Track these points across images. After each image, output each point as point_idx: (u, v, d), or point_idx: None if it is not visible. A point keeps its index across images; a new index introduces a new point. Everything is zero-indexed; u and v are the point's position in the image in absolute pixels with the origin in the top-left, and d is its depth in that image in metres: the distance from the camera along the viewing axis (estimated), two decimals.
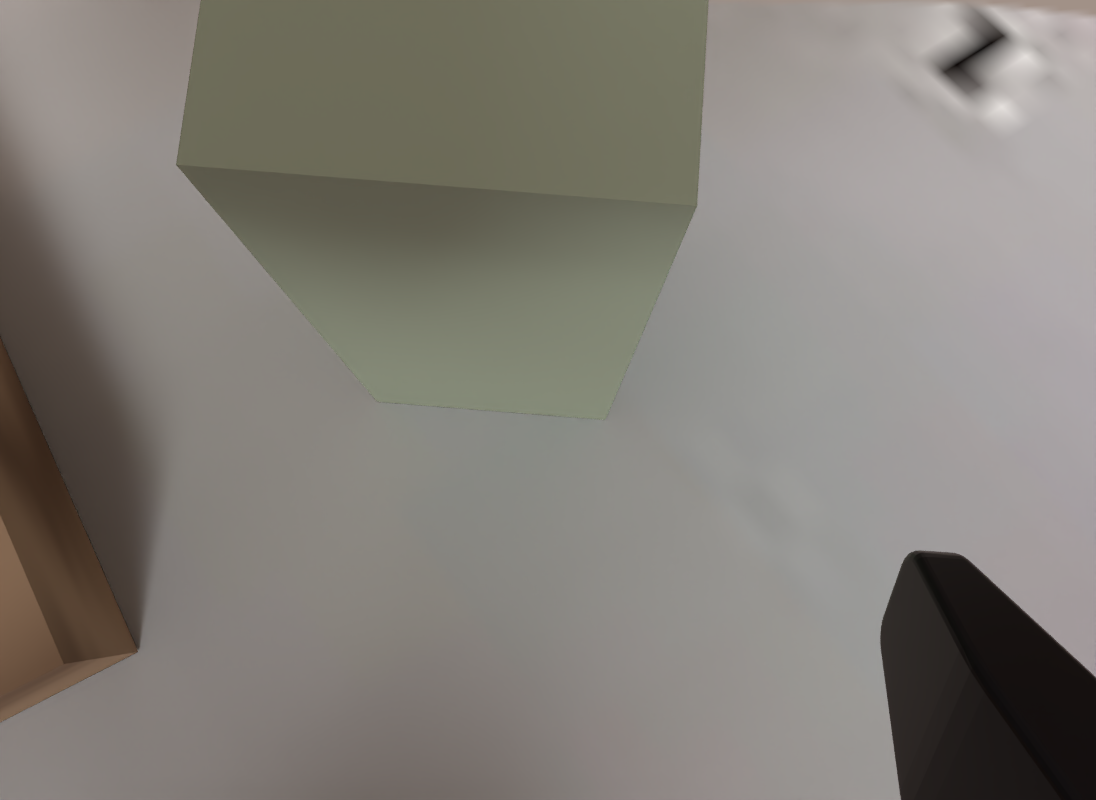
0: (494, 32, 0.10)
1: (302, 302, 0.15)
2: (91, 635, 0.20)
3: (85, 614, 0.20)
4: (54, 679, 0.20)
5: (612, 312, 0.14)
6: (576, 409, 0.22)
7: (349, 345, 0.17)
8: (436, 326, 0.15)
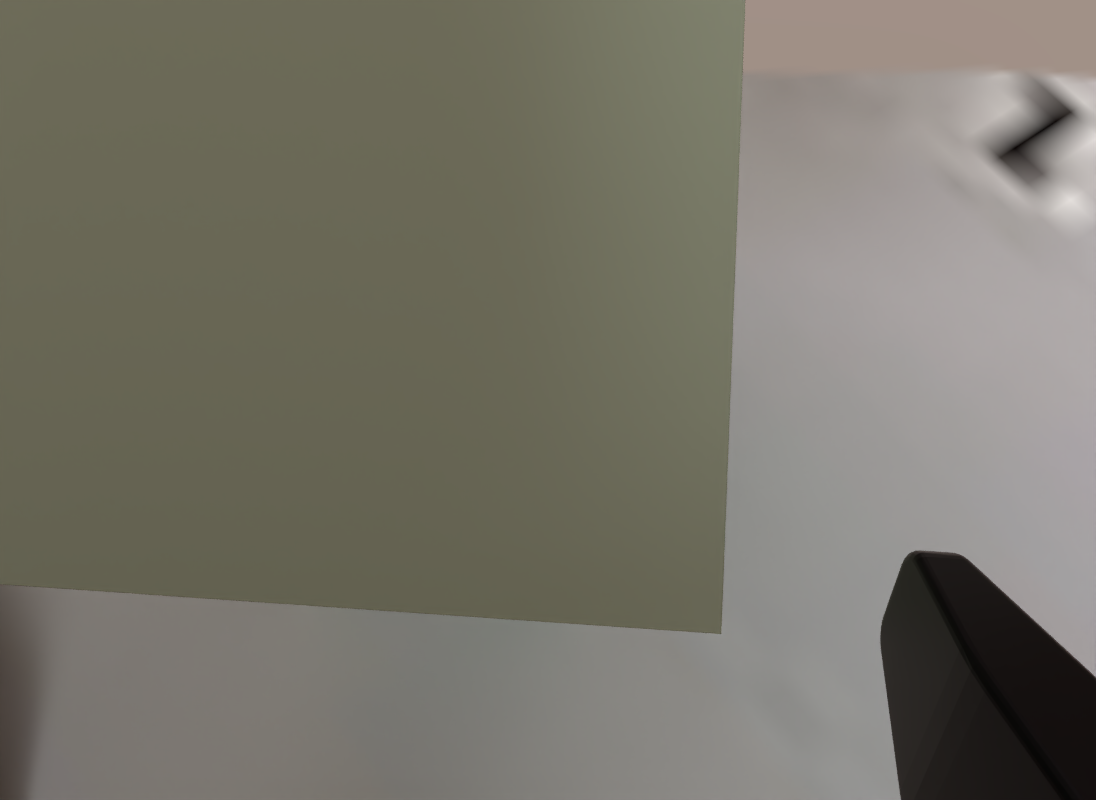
0: (369, 317, 0.06)
1: None
2: None
3: None
4: None
5: None
6: None
7: None
8: None
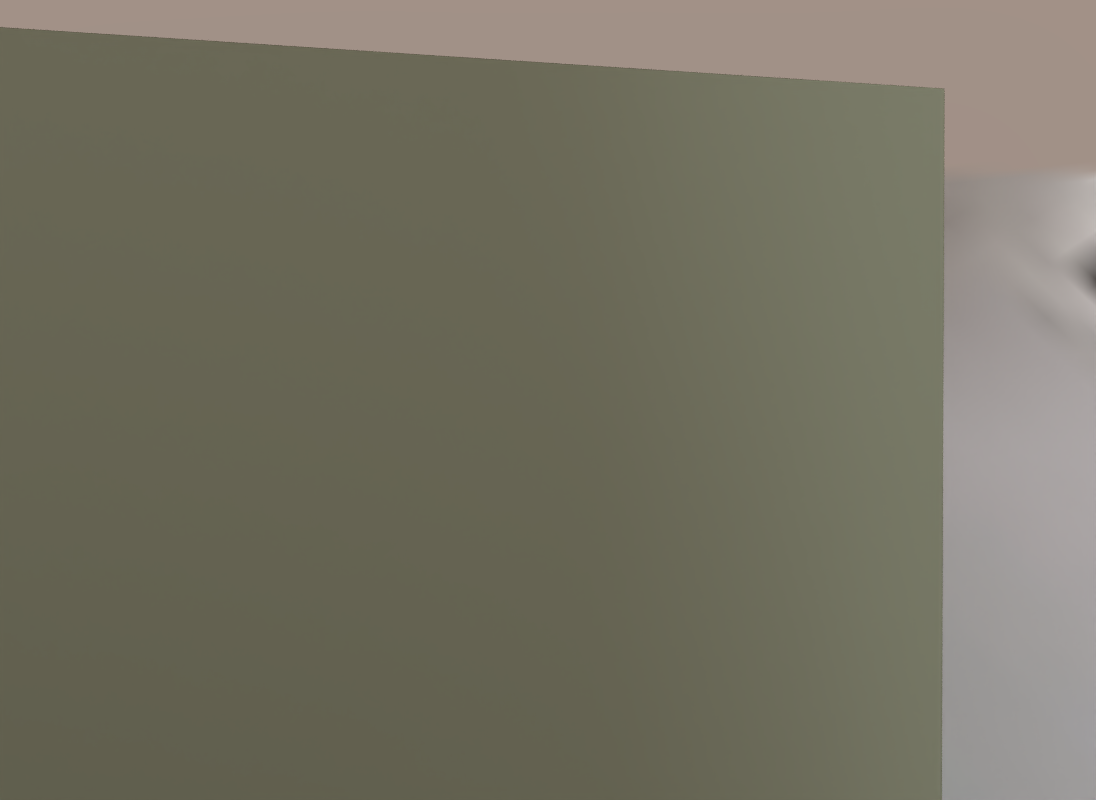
0: None
1: None
2: None
3: None
4: None
5: None
6: None
7: None
8: None
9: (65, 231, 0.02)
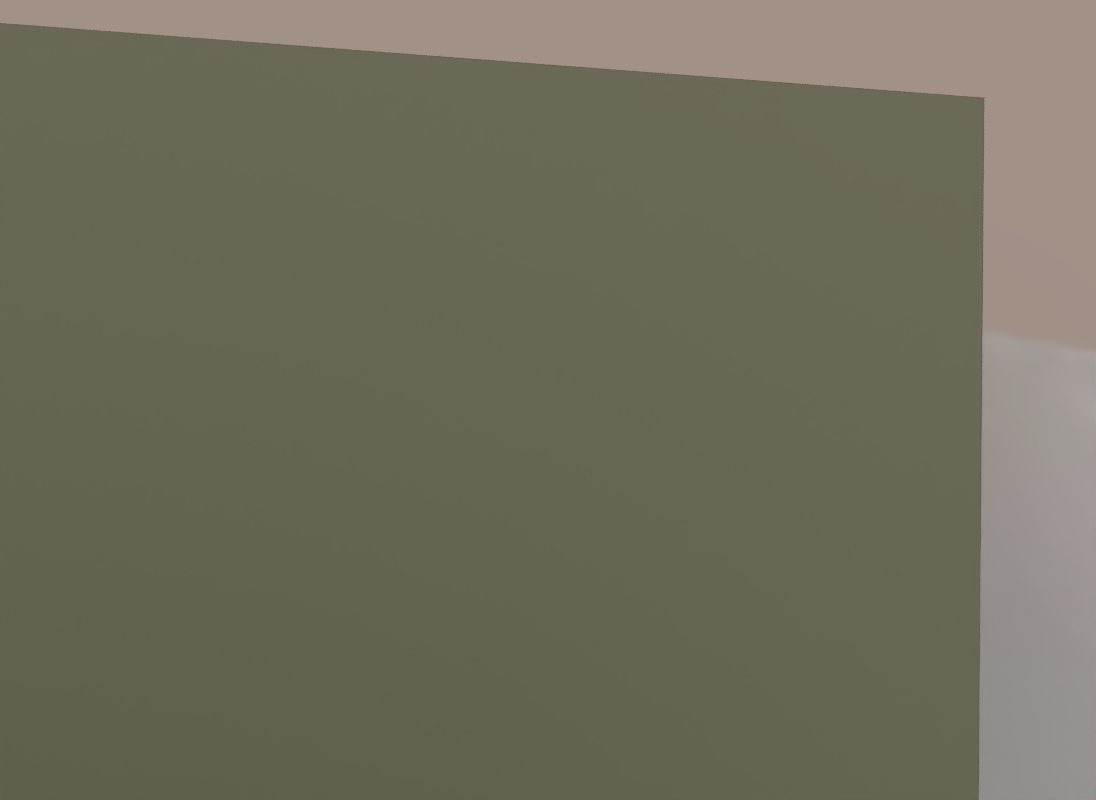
0: None
1: None
2: None
3: None
4: None
5: None
6: None
7: None
8: None
9: (140, 225, 0.03)
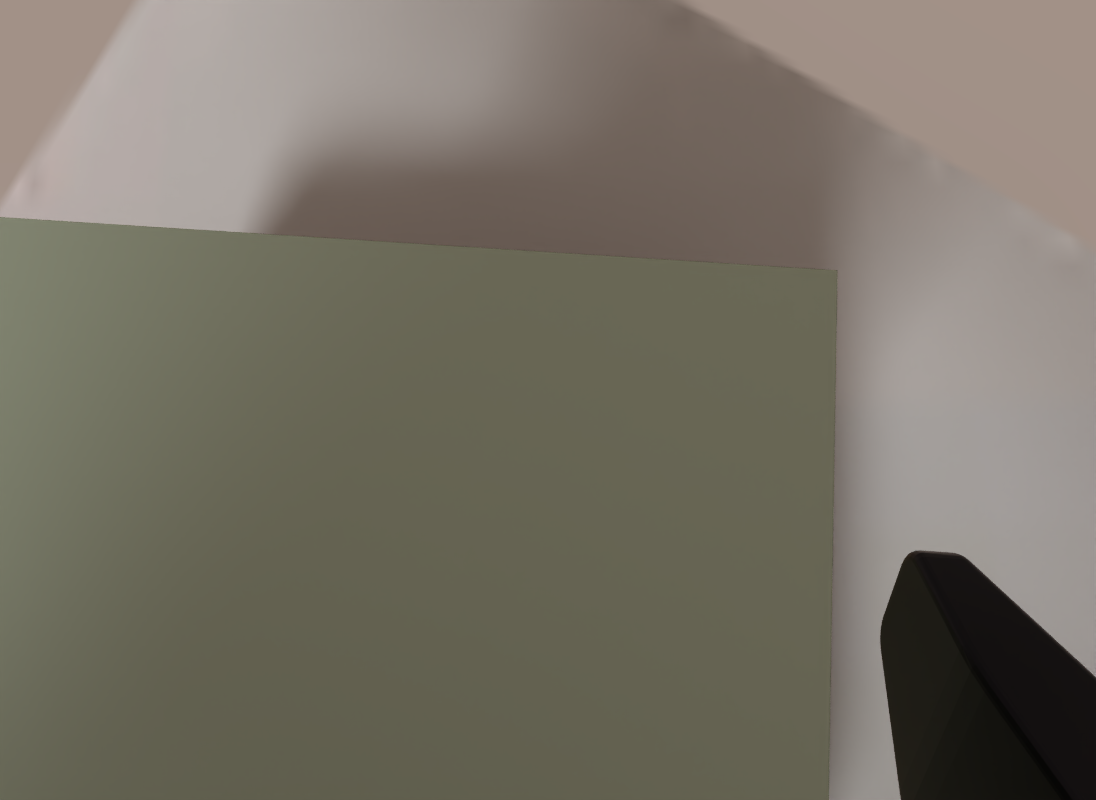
0: None
1: None
2: None
3: None
4: None
5: None
6: None
7: None
8: None
9: (281, 366, 0.04)
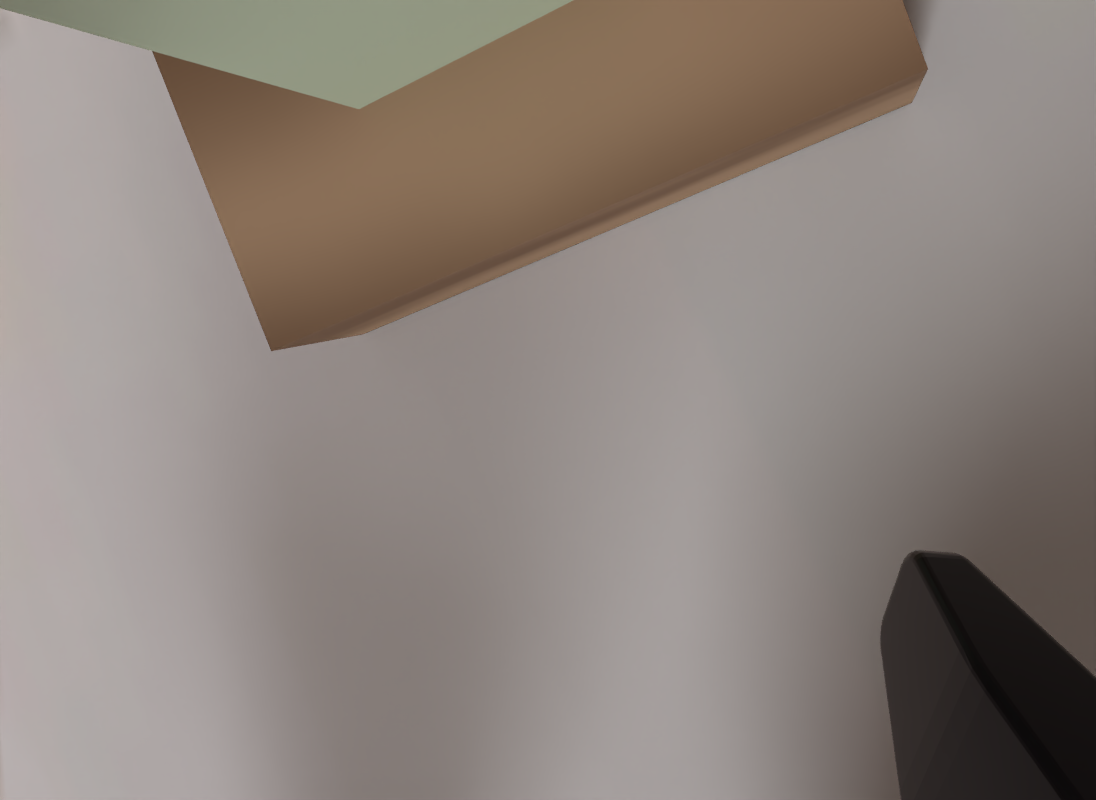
0: None
1: None
2: None
3: None
4: (867, 106, 0.16)
5: None
6: None
7: (157, 30, 0.11)
8: None
9: None
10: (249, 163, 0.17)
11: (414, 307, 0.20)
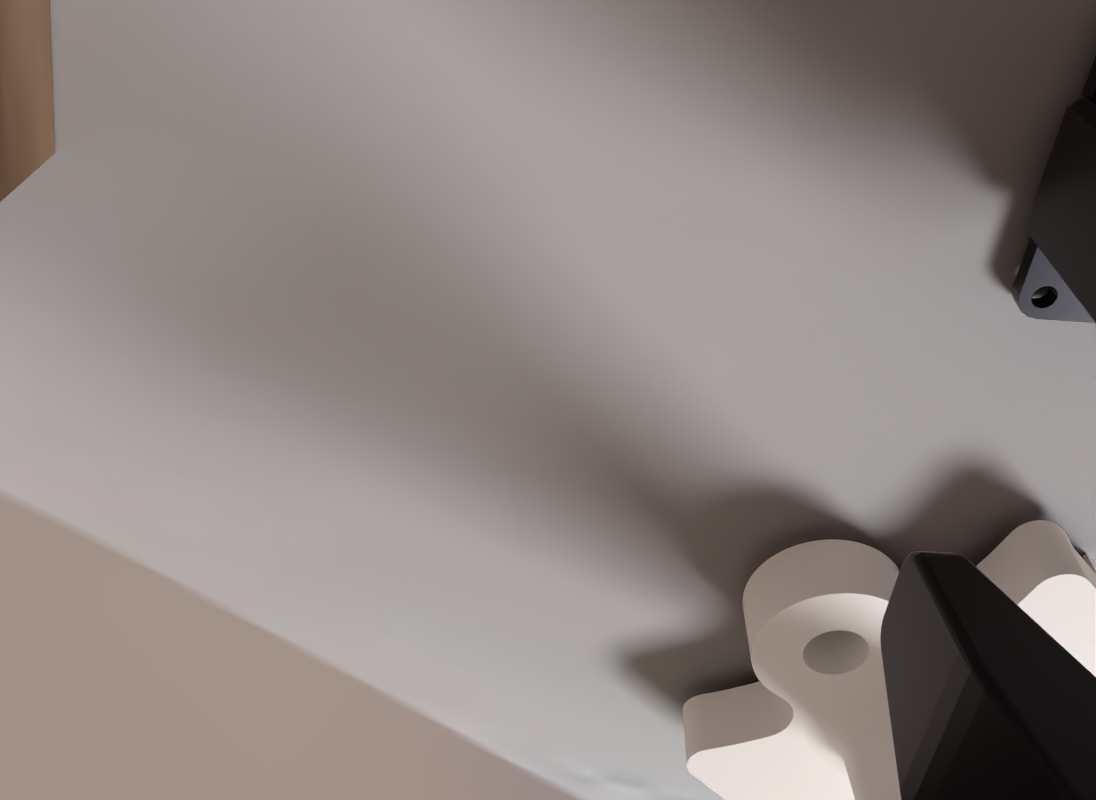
0: None
1: None
2: None
3: None
4: None
5: None
6: None
7: None
8: None
9: None
10: None
11: (31, 89, 0.19)
